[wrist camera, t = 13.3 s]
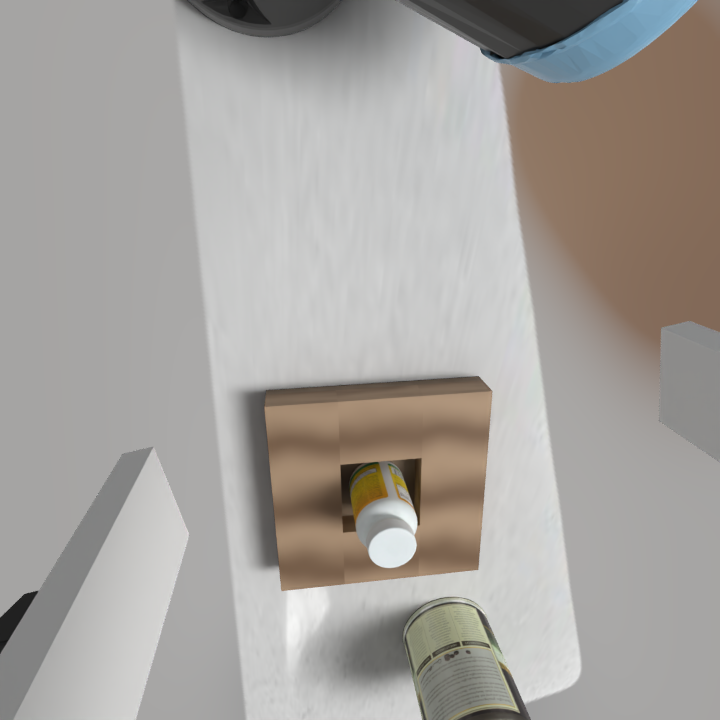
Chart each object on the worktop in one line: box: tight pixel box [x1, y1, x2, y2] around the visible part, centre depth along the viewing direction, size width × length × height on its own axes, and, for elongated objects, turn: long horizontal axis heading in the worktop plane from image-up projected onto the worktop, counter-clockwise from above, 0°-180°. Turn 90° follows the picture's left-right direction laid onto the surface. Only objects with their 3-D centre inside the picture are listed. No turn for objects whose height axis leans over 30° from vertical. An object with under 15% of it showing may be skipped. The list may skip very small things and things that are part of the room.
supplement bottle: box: [349, 461, 417, 568], centre depth 45 cm, size 5×5×10 cm
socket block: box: [264, 377, 492, 591], centre depth 49 cm, size 20×20×4 cm
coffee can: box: [403, 597, 531, 720], centre depth 52 cm, size 10×10×14 cm
